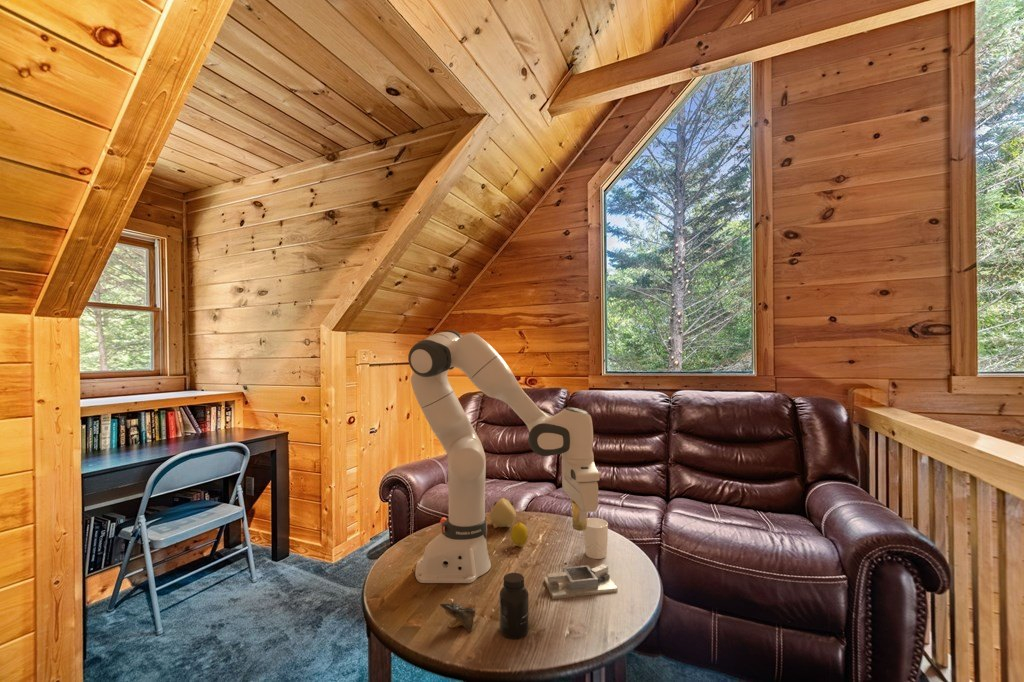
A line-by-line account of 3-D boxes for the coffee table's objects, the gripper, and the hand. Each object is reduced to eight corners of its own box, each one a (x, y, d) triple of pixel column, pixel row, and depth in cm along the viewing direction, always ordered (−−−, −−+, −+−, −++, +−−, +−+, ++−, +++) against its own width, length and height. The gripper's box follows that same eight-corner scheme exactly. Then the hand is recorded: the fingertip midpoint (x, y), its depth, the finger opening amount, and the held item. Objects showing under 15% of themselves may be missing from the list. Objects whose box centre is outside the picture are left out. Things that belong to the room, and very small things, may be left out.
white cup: (610, 560, 129) (610, 527, 129) (585, 560, 129) (584, 527, 129) (605, 548, 136) (605, 517, 137) (581, 548, 137) (581, 517, 137)
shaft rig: (552, 599, 109) (552, 584, 109) (544, 580, 117) (544, 567, 118) (617, 591, 112) (617, 577, 112) (604, 574, 120) (604, 561, 121)
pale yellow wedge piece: (517, 520, 160) (516, 492, 161) (515, 533, 148) (514, 503, 149) (491, 519, 161) (491, 492, 161) (488, 533, 149) (487, 503, 150)
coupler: (575, 531, 113) (575, 504, 113) (570, 525, 117) (570, 499, 117) (589, 529, 113) (588, 503, 114) (584, 524, 117) (583, 498, 118)
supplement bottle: (530, 639, 94) (529, 584, 94) (500, 641, 93) (499, 586, 93) (527, 619, 100) (526, 569, 101) (498, 621, 100) (498, 570, 100)
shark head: (442, 640, 95) (440, 614, 94) (442, 618, 101) (439, 593, 100) (477, 633, 96) (475, 607, 95) (475, 611, 102) (472, 587, 101)
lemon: (511, 542, 141) (511, 518, 142) (527, 542, 141) (527, 518, 141) (510, 550, 136) (510, 525, 136) (527, 550, 136) (527, 525, 136)
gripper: (556, 457, 125) (557, 504, 125) (578, 477, 105) (579, 533, 105) (576, 456, 126) (577, 502, 126) (602, 476, 106) (603, 530, 106)
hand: (578, 516), depth 115 cm, fingers closed on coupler, 4 cm apart
